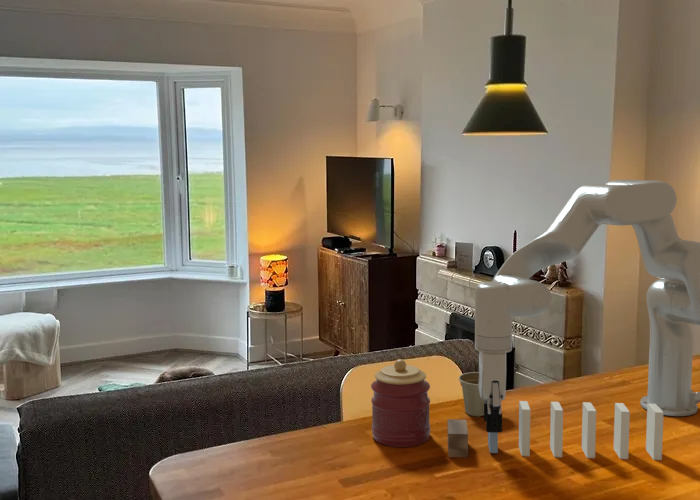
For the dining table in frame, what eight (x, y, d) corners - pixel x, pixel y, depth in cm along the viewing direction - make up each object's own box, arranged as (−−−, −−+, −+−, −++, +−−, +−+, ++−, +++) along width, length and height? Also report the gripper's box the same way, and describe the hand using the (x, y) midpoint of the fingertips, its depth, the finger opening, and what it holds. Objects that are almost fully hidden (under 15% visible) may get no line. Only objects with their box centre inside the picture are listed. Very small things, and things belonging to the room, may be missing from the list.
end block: (466, 441, 150) (466, 419, 149) (468, 457, 142) (468, 434, 141) (447, 441, 150) (447, 419, 150) (448, 456, 142) (448, 433, 142)
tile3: (589, 448, 145) (590, 402, 144) (595, 458, 141) (596, 411, 139) (581, 447, 146) (582, 402, 144) (586, 458, 141) (588, 410, 139)
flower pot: (498, 420, 162) (498, 385, 161) (457, 418, 164) (457, 383, 162) (497, 406, 171) (498, 372, 170) (459, 404, 173) (459, 371, 172)
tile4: (557, 447, 146) (558, 401, 145) (562, 457, 141) (563, 410, 140) (550, 447, 146) (550, 401, 145) (554, 457, 141) (555, 410, 140)
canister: (438, 430, 157) (437, 354, 154) (419, 452, 145) (418, 371, 143) (384, 422, 162) (383, 349, 160) (362, 443, 150) (361, 364, 148)
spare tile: (489, 452, 143) (490, 406, 142) (487, 443, 148) (488, 398, 147) (497, 453, 143) (497, 406, 141) (495, 443, 148) (495, 398, 146)
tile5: (526, 446, 147) (527, 401, 146) (529, 456, 142) (530, 409, 141) (518, 446, 147) (519, 401, 146) (521, 456, 142) (522, 409, 141)
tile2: (621, 448, 145) (622, 403, 143) (628, 459, 140) (629, 411, 139) (613, 448, 145) (614, 402, 144) (620, 458, 140) (621, 411, 139)
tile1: (653, 449, 144) (655, 403, 143) (661, 460, 139) (663, 412, 138) (645, 449, 144) (647, 403, 143) (653, 459, 139) (655, 412, 138)
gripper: (472, 331, 151) (472, 411, 154) (477, 353, 134) (477, 442, 137) (507, 332, 150) (506, 412, 153) (517, 353, 134) (516, 443, 136)
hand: (492, 425), depth 145 cm, fingers closed on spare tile, 4 cm apart
